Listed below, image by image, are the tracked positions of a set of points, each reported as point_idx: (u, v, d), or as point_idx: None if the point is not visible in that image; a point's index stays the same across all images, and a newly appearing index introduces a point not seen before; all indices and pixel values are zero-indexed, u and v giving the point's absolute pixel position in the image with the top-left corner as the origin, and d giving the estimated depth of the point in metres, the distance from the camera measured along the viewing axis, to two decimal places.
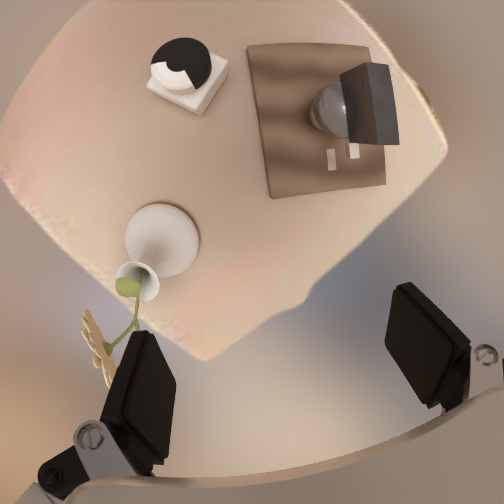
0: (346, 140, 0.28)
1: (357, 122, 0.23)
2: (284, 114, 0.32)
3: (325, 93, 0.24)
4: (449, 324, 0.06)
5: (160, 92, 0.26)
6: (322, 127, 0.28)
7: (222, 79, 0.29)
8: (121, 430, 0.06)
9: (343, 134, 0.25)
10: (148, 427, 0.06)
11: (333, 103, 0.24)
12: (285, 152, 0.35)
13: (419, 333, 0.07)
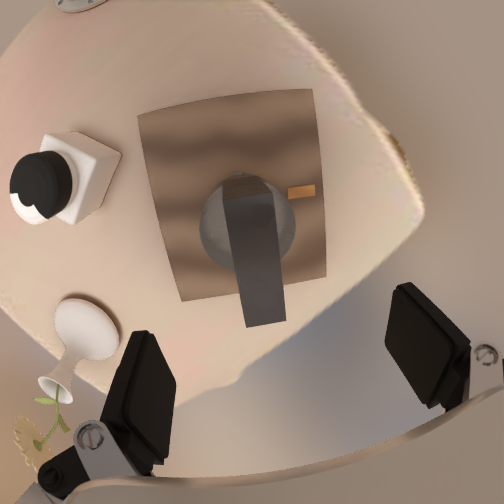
0: None
1: None
2: (185, 206, 0.28)
3: (202, 213, 0.19)
4: (449, 324, 0.06)
5: None
6: None
7: (108, 169, 0.25)
8: (121, 430, 0.06)
9: (230, 269, 0.21)
10: (148, 427, 0.06)
11: (213, 228, 0.19)
12: (190, 252, 0.30)
13: (419, 333, 0.07)
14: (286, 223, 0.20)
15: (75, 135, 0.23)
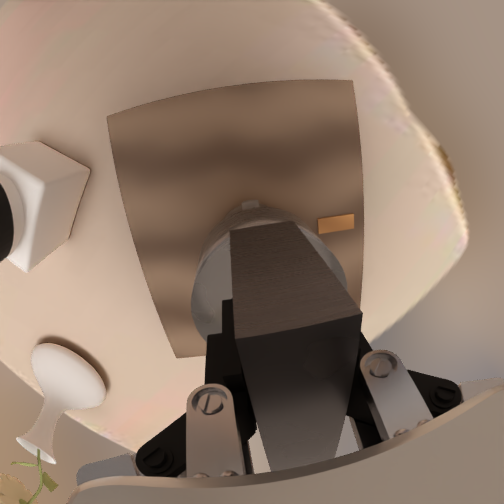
0: None
1: None
2: (175, 244, 0.20)
3: (194, 283, 0.11)
4: None
5: None
6: None
7: (71, 192, 0.17)
8: (235, 390, 0.07)
9: None
10: None
11: (214, 307, 0.11)
12: (185, 303, 0.22)
13: None
14: None
15: (31, 146, 0.15)
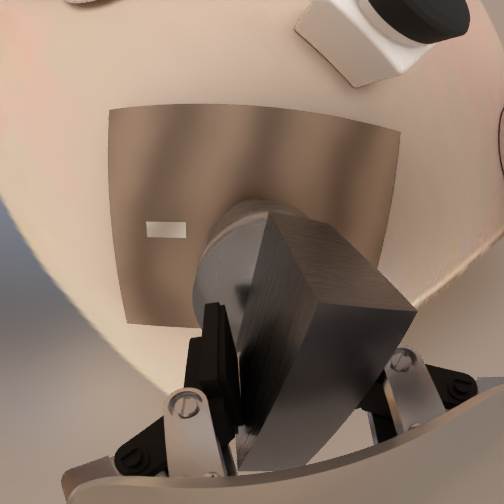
0: None
1: (242, 369, 0.10)
2: (266, 152, 0.18)
3: (209, 251, 0.11)
4: None
5: None
6: None
7: (355, 68, 0.15)
8: (213, 395, 0.07)
9: None
10: (233, 392, 0.08)
11: (220, 282, 0.11)
12: (189, 141, 0.17)
13: None
14: None
15: None
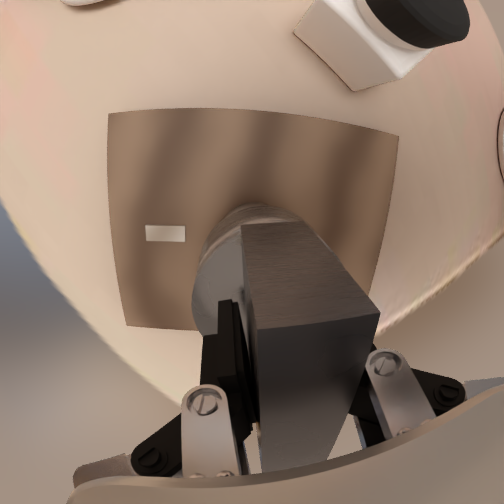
0: None
1: None
2: (265, 157, 0.18)
3: (197, 275, 0.11)
4: None
5: None
6: None
7: (353, 73, 0.15)
8: (230, 391, 0.07)
9: None
10: (249, 388, 0.08)
11: (216, 301, 0.11)
12: (188, 145, 0.17)
13: None
14: None
15: None
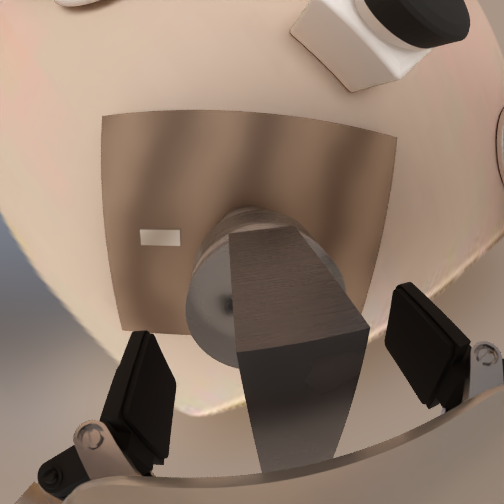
0: None
1: None
2: (261, 159, 0.18)
3: (189, 286, 0.11)
4: (449, 324, 0.06)
5: None
6: None
7: (351, 73, 0.15)
8: (121, 430, 0.06)
9: (236, 365, 0.12)
10: (148, 427, 0.06)
11: (210, 311, 0.11)
12: (183, 148, 0.17)
13: (419, 333, 0.07)
14: None
15: None
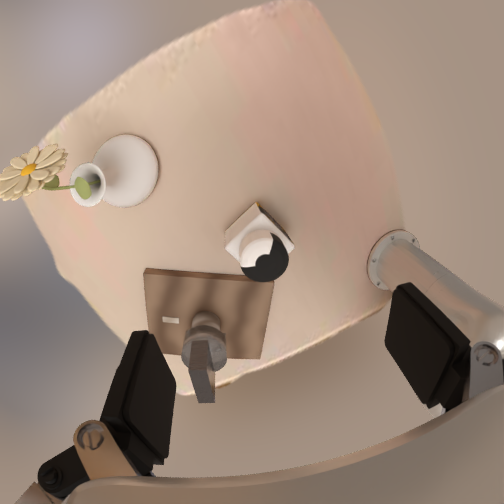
0: None
1: None
2: (209, 295, 0.46)
3: (182, 350, 0.39)
4: (449, 324, 0.06)
5: (250, 224, 0.36)
6: None
7: None
8: (121, 430, 0.06)
9: None
10: (148, 427, 0.06)
11: (188, 356, 0.39)
12: (179, 290, 0.45)
13: (419, 333, 0.07)
14: (222, 357, 0.39)
15: None
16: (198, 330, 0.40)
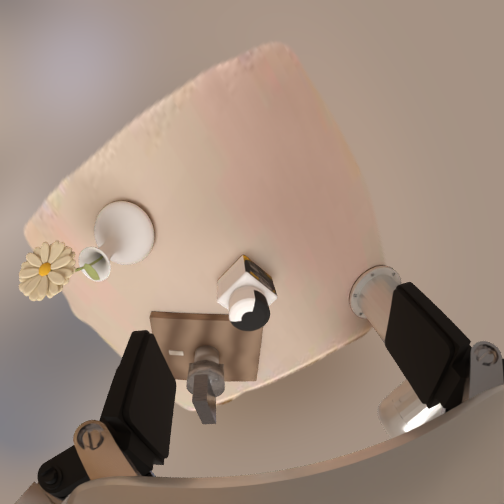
0: None
1: None
2: (208, 333, 0.52)
3: (187, 381, 0.45)
4: (449, 324, 0.06)
5: (237, 282, 0.42)
6: None
7: None
8: (121, 430, 0.06)
9: None
10: (148, 427, 0.06)
11: (192, 386, 0.45)
12: (181, 329, 0.51)
13: (419, 333, 0.07)
14: (220, 386, 0.45)
15: None
16: (199, 365, 0.46)
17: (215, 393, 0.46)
